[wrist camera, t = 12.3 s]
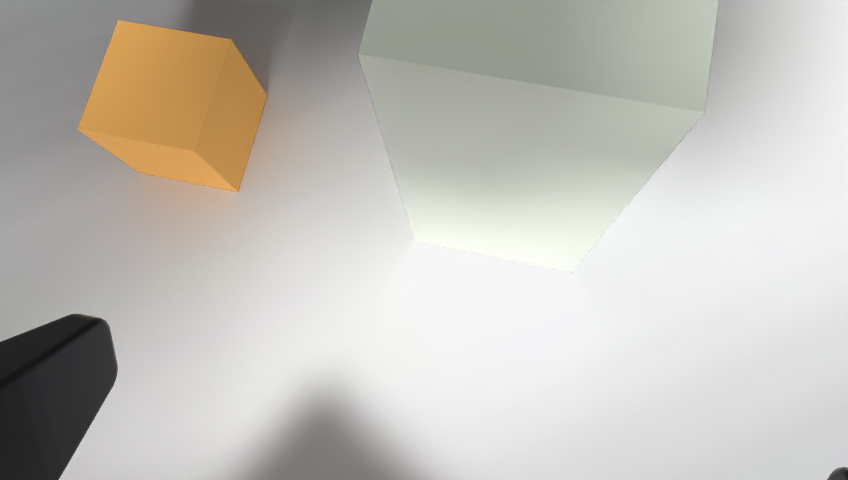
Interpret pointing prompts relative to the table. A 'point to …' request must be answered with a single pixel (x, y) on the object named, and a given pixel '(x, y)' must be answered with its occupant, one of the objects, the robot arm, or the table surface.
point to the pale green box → (532, 114)
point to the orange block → (175, 105)
